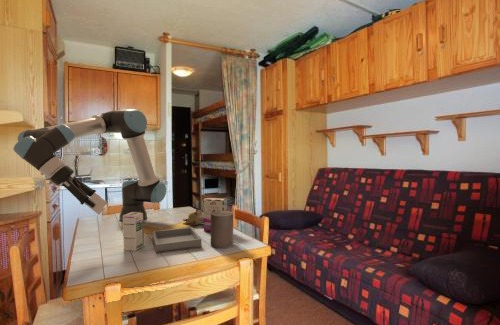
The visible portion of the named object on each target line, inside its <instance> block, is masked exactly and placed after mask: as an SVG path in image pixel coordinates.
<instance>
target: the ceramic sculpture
mask: <svg viewBox="0 0 500 325" xmlns="http://www.w3.org/2000/svg"><path fill="white" fill-rule="evenodd" d="M182 221H183V223H182V225H185V226H189V227H192V226H198V225H200V224H204V211H203V212H202V211H201V209H196V210H195V211H192V212H190V213H189V214H188V218H183V219H182ZM185 221H186V222H185Z"/></svg>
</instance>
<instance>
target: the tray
mask: <svg viewBox="0 0 500 325" xmlns="http://www.w3.org/2000/svg"><path fill="white" fill-rule="evenodd" d="M152 242H153V247H154V250H155V254H162V253H163V254H164V253H170V252H176V251H185V250H191V249H201V248H202V237H201V236H200V235H199V234H198V233H197V232H196V231H195V229H194V228H193V227H192V226H189V227H179V228H171V229H170V228H169V229H161V230H160V229H159V230H153V231H152Z"/></svg>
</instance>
